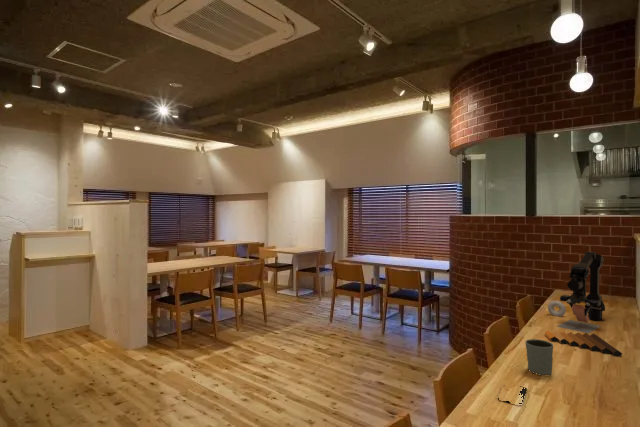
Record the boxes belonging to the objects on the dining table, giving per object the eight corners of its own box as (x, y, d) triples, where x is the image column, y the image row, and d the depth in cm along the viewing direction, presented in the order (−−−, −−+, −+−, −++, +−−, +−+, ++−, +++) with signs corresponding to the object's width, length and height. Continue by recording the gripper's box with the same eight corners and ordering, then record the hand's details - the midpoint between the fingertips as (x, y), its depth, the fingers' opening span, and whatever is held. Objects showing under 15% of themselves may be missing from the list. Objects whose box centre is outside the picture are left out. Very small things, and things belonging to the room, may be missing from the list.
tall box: (579, 316, 226) (573, 303, 220) (589, 318, 222) (583, 305, 217) (577, 320, 225) (571, 308, 219) (587, 322, 221) (581, 309, 215)
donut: (566, 317, 241) (566, 301, 241) (565, 318, 238) (565, 302, 238) (548, 314, 248) (548, 299, 248) (547, 315, 246) (546, 299, 245)
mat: (569, 320, 234) (569, 319, 234) (601, 327, 221) (601, 326, 221) (556, 327, 221) (556, 326, 221) (588, 334, 209) (588, 333, 209)
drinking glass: (553, 378, 155) (552, 348, 155) (524, 373, 161) (524, 344, 160) (553, 369, 164) (553, 341, 164) (526, 364, 169) (526, 337, 169)
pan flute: (622, 357, 177) (597, 339, 202) (622, 350, 177) (597, 333, 201) (561, 353, 183) (544, 336, 208) (561, 346, 183) (544, 330, 208)
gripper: (556, 287, 222) (556, 314, 223) (594, 292, 208) (594, 321, 208) (563, 285, 229) (563, 311, 229) (601, 290, 214) (601, 318, 215)
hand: (579, 315), depth 220 cm, fingers closed on tall box, 5 cm apart
